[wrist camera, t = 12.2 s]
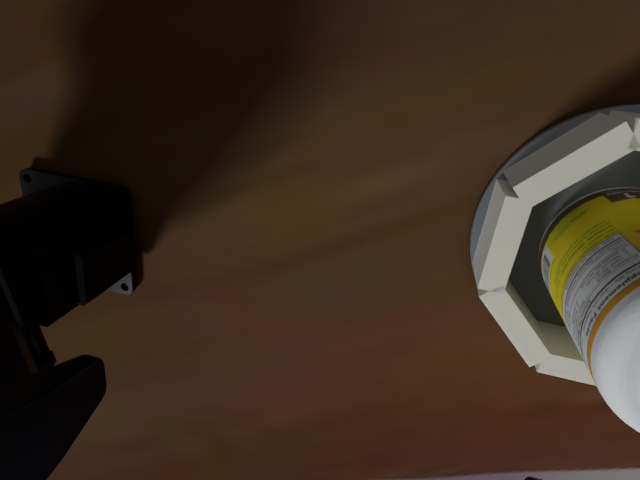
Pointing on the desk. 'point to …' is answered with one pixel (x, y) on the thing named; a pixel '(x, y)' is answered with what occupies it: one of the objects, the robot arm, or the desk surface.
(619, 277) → the supplement bottle
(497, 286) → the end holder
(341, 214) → the desk surface
